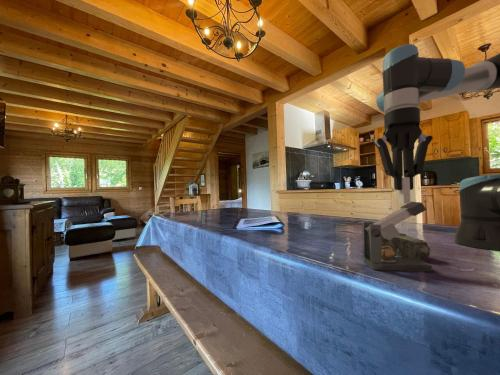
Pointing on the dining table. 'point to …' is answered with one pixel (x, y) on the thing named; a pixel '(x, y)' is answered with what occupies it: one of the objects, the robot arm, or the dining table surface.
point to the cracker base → (377, 254)
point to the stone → (407, 246)
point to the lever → (398, 219)
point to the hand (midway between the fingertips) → (404, 203)
